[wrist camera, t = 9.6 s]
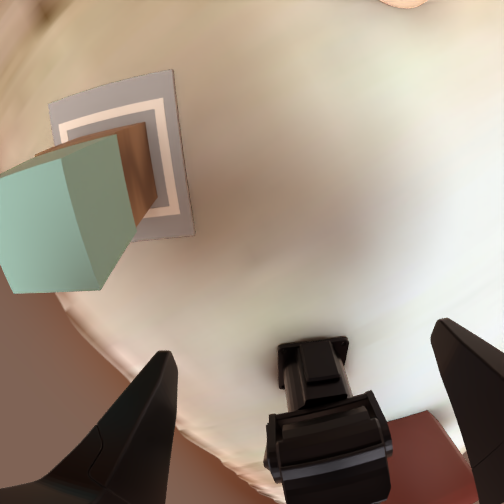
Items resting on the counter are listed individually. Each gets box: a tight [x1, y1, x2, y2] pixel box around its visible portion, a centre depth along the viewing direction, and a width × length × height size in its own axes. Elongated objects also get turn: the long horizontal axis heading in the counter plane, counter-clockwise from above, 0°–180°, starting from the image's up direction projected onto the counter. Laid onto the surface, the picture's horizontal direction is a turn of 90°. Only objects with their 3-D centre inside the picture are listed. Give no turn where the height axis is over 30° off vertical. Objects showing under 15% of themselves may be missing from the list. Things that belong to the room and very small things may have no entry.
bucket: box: [381, 410, 479, 504], centre depth 30 cm, size 24×22×25 cm
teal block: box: [0, 134, 137, 294], centre depth 11 cm, size 5×5×5 cm
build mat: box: [48, 69, 195, 242], centre depth 18 cm, size 11×9×1 cm
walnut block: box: [35, 122, 158, 227], centre depth 16 cm, size 5×5×5 cm
